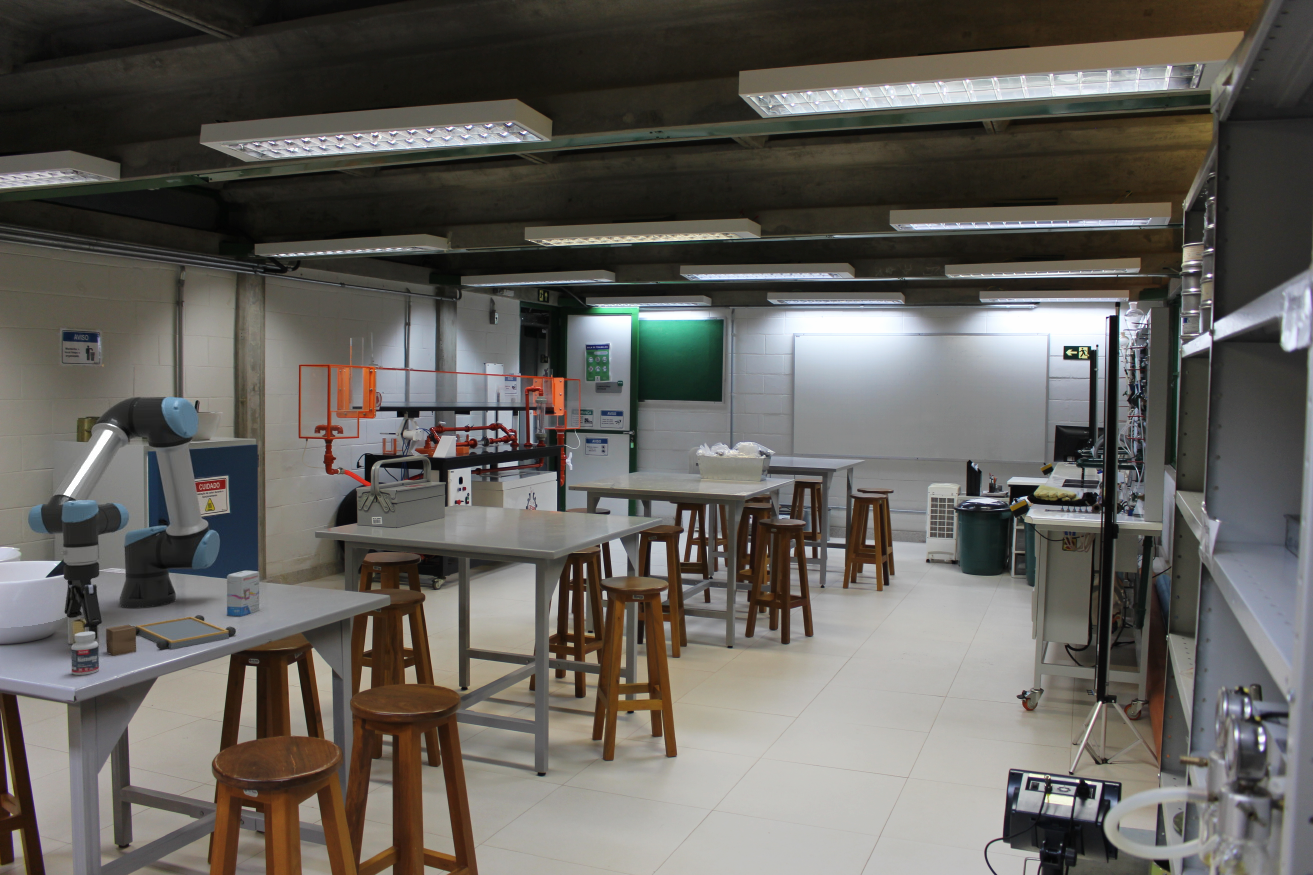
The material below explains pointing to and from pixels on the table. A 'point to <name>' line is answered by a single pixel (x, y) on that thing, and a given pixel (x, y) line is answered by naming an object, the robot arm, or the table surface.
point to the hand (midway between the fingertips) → (83, 647)
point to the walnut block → (121, 640)
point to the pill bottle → (85, 654)
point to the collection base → (183, 632)
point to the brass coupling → (78, 627)
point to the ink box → (242, 593)
